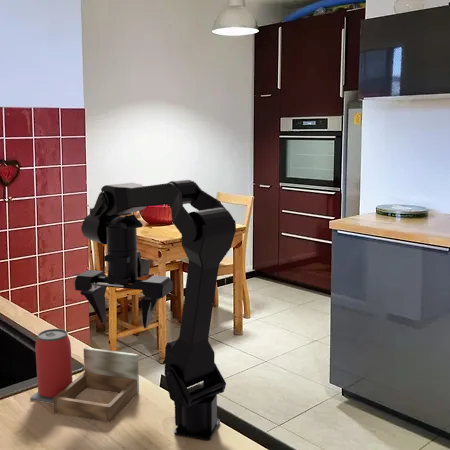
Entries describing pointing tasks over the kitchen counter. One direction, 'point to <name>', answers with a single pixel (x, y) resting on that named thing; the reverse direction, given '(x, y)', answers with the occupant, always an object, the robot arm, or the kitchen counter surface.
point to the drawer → (101, 385)
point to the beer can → (53, 362)
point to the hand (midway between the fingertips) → (124, 325)
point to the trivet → (41, 398)
